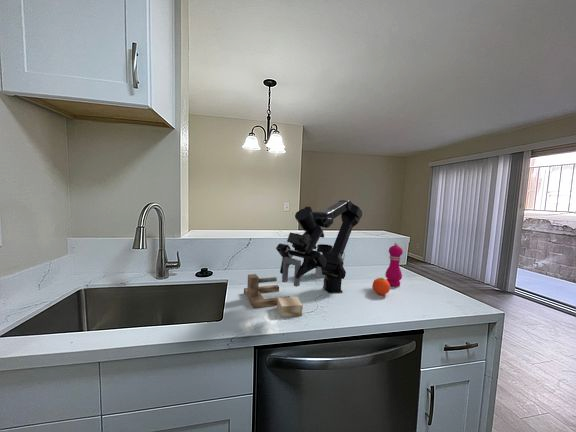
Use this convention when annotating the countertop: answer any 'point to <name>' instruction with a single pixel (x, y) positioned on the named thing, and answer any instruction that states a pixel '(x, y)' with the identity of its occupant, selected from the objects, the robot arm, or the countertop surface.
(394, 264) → the pepper mill
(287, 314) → the oak block
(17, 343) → the countertop surface
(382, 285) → the clementine
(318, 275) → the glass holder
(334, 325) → the countertop surface
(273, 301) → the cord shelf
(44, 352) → the countertop surface
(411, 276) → the countertop surface
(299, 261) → the gray arch
